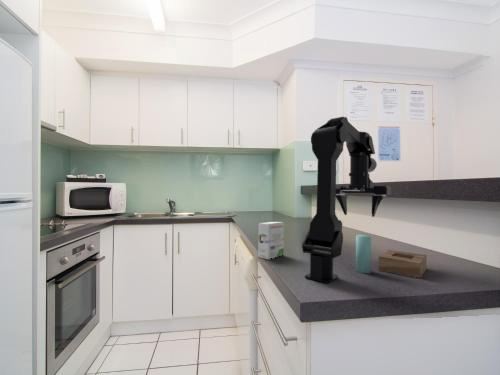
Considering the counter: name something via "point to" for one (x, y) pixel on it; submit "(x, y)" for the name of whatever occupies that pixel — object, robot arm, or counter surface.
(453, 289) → the counter surface
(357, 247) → the peg
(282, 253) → the ink box
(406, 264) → the socket block
